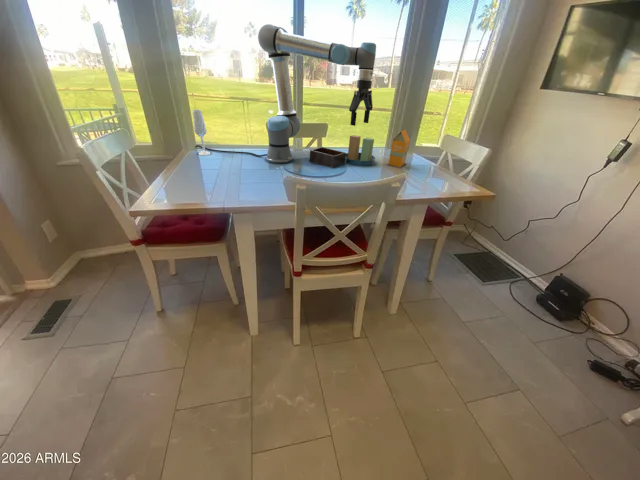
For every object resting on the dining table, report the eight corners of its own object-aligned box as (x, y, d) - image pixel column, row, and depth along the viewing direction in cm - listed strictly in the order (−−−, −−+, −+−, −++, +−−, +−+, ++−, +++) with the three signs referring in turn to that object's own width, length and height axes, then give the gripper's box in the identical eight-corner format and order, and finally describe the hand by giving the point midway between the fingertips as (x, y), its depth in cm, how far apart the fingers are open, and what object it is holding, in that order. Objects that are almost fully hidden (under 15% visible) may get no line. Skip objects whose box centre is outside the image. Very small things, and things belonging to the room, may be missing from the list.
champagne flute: (208, 155, 163) (200, 111, 150) (196, 154, 163) (188, 110, 150) (212, 152, 168) (205, 109, 155) (201, 151, 168) (193, 109, 155)
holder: (309, 161, 163) (310, 150, 159) (321, 157, 171) (322, 146, 167) (333, 168, 154) (334, 156, 150) (344, 163, 162) (345, 152, 158)
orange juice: (404, 164, 167) (412, 130, 156) (400, 167, 161) (407, 132, 150) (392, 161, 170) (399, 128, 160) (387, 165, 164) (394, 130, 153)
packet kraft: (347, 159, 168) (349, 135, 160) (351, 158, 171) (353, 135, 163) (354, 161, 165) (357, 137, 158) (357, 160, 168) (360, 136, 161)
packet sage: (359, 162, 163) (363, 138, 156) (363, 161, 166) (366, 137, 159) (367, 164, 161) (370, 140, 153) (370, 163, 164) (374, 139, 156)
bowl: (337, 162, 164) (337, 156, 162) (353, 156, 177) (354, 150, 175) (364, 169, 155) (365, 163, 153) (379, 162, 168) (380, 156, 166)
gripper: (357, 80, 129) (352, 127, 140) (382, 80, 146) (376, 122, 157) (344, 79, 133) (341, 125, 144) (370, 79, 150) (365, 120, 161)
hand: (359, 124), depth 151 cm, fingers open, 13 cm apart
